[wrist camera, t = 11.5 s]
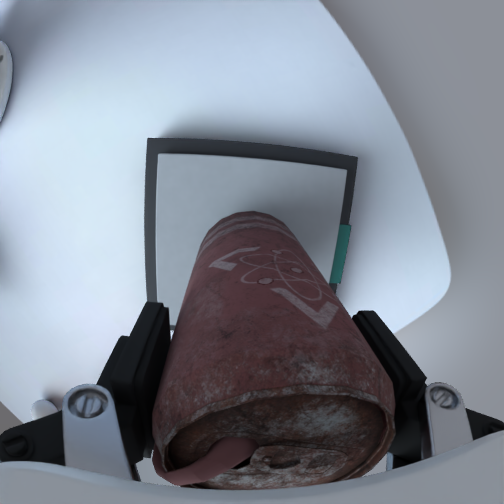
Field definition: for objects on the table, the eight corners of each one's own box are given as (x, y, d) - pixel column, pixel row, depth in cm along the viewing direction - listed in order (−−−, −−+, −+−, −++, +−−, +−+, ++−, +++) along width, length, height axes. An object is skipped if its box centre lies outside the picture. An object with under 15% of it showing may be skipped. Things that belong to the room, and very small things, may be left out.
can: (178, 234, 18) (78, 425, 5) (277, 193, 17) (405, 326, 4) (220, 316, 20) (213, 523, 6) (310, 281, 19) (409, 469, 6)
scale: (155, 139, 20) (143, 137, 17) (348, 156, 21) (365, 157, 18) (155, 314, 24) (146, 334, 21) (320, 322, 25) (330, 341, 22)
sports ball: (34, 399, 27) (22, 419, 24) (43, 389, 27) (30, 410, 23) (57, 418, 28) (47, 439, 25) (68, 409, 28) (57, 431, 24)
